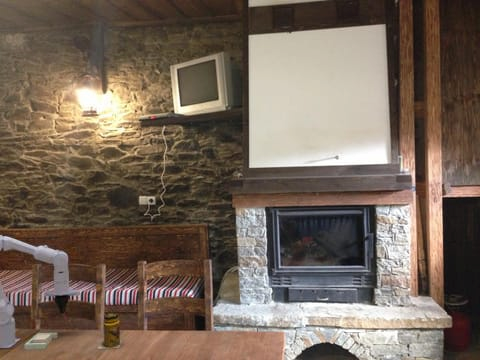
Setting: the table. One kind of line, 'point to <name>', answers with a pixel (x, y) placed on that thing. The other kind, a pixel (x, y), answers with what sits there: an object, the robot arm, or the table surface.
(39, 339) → the cream square block
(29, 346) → the box
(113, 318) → the condiment
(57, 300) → the robot arm
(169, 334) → the table surface
